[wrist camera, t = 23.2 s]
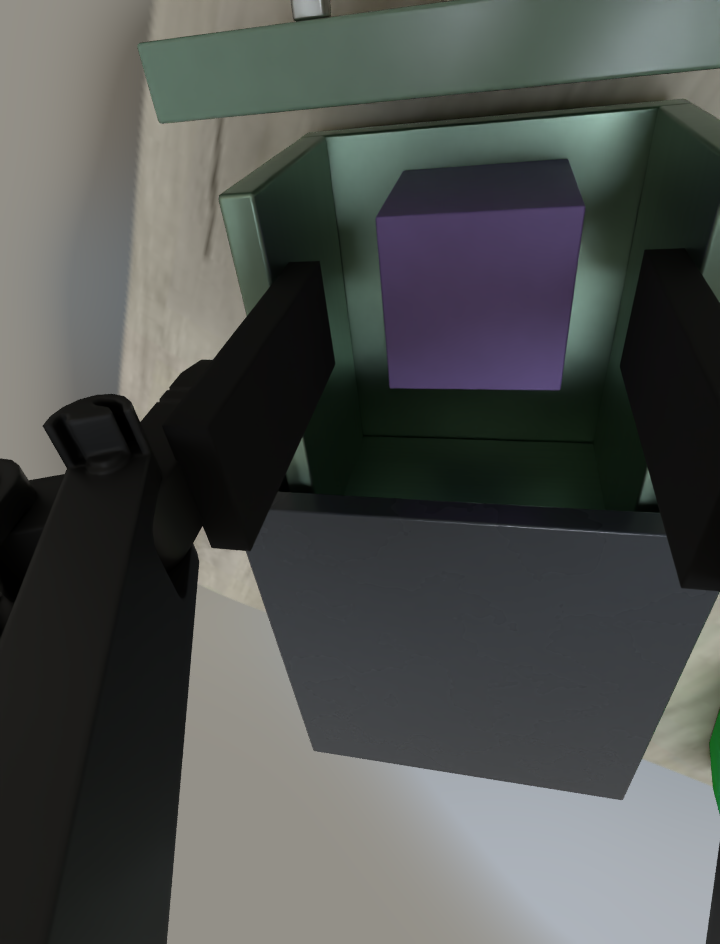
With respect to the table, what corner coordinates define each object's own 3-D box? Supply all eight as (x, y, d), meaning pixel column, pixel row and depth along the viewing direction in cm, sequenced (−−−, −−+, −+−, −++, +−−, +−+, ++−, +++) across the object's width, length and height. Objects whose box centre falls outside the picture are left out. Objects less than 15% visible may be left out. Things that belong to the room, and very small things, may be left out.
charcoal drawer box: (314, 350, 22) (230, 507, 15) (662, 350, 20) (745, 540, 13) (355, 587, 31) (313, 751, 25) (595, 609, 29) (623, 801, 22)
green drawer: (205, -370, 11) (-81, -713, 6) (878, -576, 9) (1489, -1517, 3) (335, 434, 24) (283, 566, 18) (629, 443, 21) (671, 599, 16)
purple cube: (569, 158, 15) (586, 205, 11) (550, 316, 18) (560, 391, 14) (402, 170, 16) (374, 217, 12) (410, 318, 18) (389, 389, 15)
